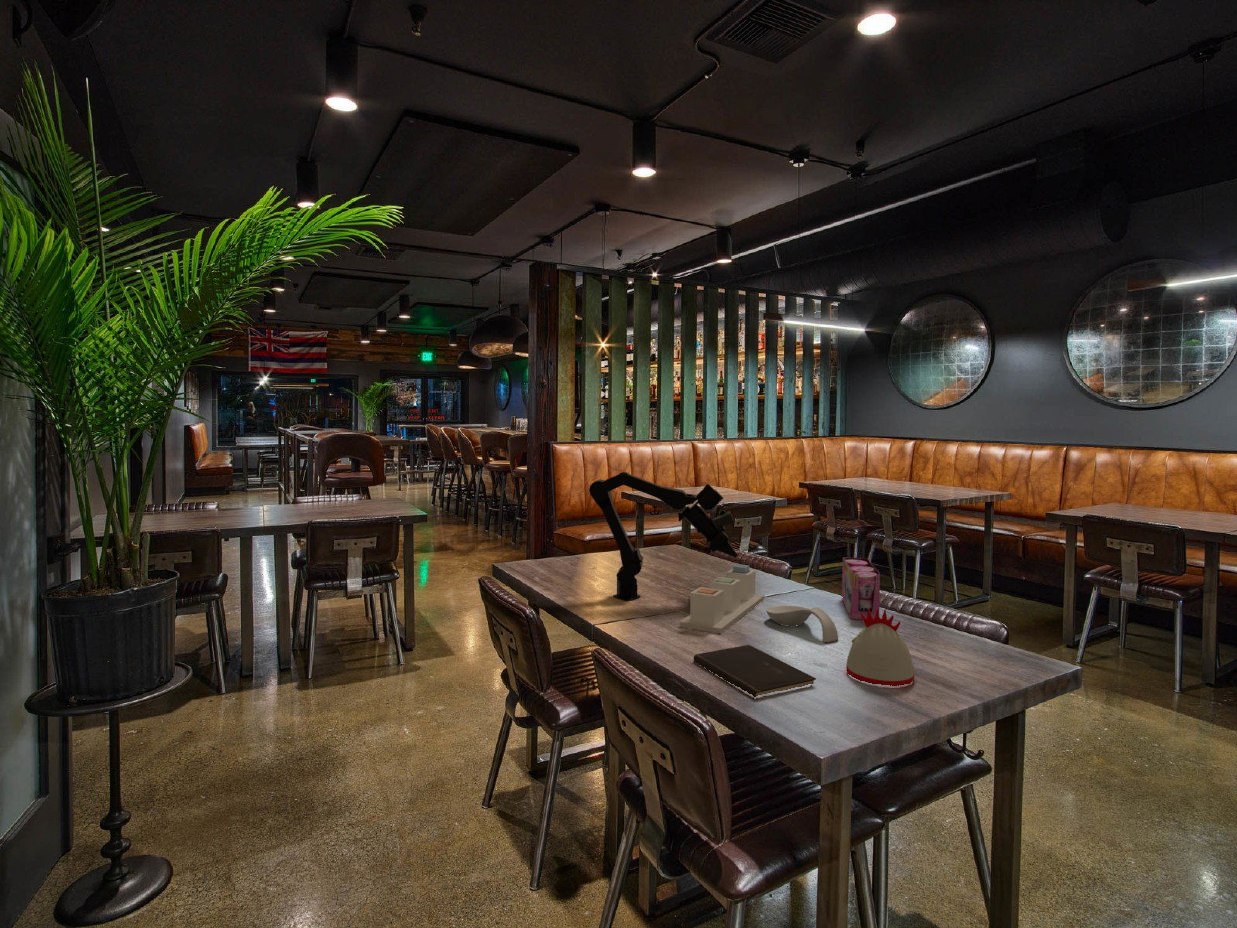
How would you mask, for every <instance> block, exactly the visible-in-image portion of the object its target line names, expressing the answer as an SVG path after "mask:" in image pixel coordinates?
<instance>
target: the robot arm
mask: <svg viewBox="0 0 1237 928" xmlns="http://www.w3.org/2000/svg"><path fill="white" fill-rule="evenodd" d="M622 486H625V487H628V488H631V489H633V490H636V491H638V492H641V493H644V494H646V495H648V496H652V497H654V498H657V499H658V500H660V501H662V503H664V504H665V505H666V506H667V505H668V506H669V507H671V508H672V509H674V510H676V511H677V510H682V509H683V510H682V511H678V512H677V515H678V522H681V521H682V520H684V519H685V520H686V521H687V522H688V524H689V523H690V525H691V526H692V527H693V528H694V529H695V530H696V532H697V533H698V534H700V535H701V536H702V537H703V538H704V539H705V540H706V542H707V543H708V548H709V550H711V552H713V553H714V552H716V551H718V552H720V553H723V554H725V555H728V556H730V557H732V558H737V557H738V556H739V555H738V552H737V551H736V550H735V549H734V547H733V546H732V544H731V543H730V541H729V535H728V532H725V531H726V528H725V527H726V526H728V525H732V524H734V523H736V521H735V519H734V516H733V515H732V512H731V511H729V510H728V511H726V510H724V509H722V510H719V513H718V515H717V516H716V517H714V518H713V517H712V516H711V515H710V516H709V515H708V514H707V513H706V512H707V511H709V510H710V511H712V510H713V509H715V508H716V506H718V505H719V504H720V503H721V502H722V500H724V499H725V498H724V496H722V494H721V493H720V492H719V491H718V490H717V489H714V487H712V486H711V484H709V483H706V484H705V485H704V487H703V488H702V489H701V490H700V491H699V492H698V493H697V494H693V493H692V494H691V493H686V491H685V490H683V489H680V488H674V487H668V486H661V485H660V484H657V483H654V482H651V481H648V480H646V479H645V478H641V477H639V476H636V475H633V474H631V473H629V472H627V471H621V472H620V473H618V474H616V475H614V476H612V477H610V478H607V479H605V480H604V479H597V480H595V481H593V482H592V483H591V484H590V486H589V489H588V493H589V495H590V497H591V498H592V500H593V501H594V502H595V504H596V505H597V506H598V508H599V509H600V510H601V511H602V513H603V515H604V518H605V520H606V522H607V525H608V527H609V530H610V532H611V534H612V536H613V538H614V540H615V544H616V545H617V548H618V549H619V554H620V555H619V556H620V561H621V565H622V566H620V568H619V569H618V571H617V573H616V594H613V595H612V597H613V598H615V599H620V600H623V601H629V600H635V599H639V598H641V595H639V594H638V579H637V578H636V576H637V575H639V574H640V572H641V570H642V568H643V565H644V562H643V560H644V556H643V555H642V554H641V551H640V548H639V547H640V546H637V547H636V548H635V547H634V546H633V544H632V543H631V541H630V539H629V537H628V535H627V532H626V529H625V528H624V526H623V523H622V520H621V519H620V516H619V514H618V512H617V510H616V508H615V505H614V500H613V495H612V494H613V493H612V491H613V490H615V489H618V488H620V487H622ZM689 505H692V506H689ZM705 511H706V512H705Z"/></svg>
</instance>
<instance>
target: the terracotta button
mask: <svg viewBox="0 0 1237 928" xmlns="http://www.w3.org/2000/svg"><path fill="white" fill-rule="evenodd" d="M706 588H707V587H704V588H703V589H701V590H699V591H698V593H704V594H711V595H713V594H715V593H716V592H717V590H713V589H706Z"/></svg>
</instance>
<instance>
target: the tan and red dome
mask: <svg viewBox="0 0 1237 928" xmlns="http://www.w3.org/2000/svg"><path fill="white" fill-rule="evenodd" d="M861 617H862V620H861V621H863V624H864V625H865V627H864V628H863V629H862V630H861V631H859V633H858V634H857V635H856V636H855V637H854V638H853V639H852V640H851V643H852V644H851V646H850V649H849V652H848V655H847V659H846V670H845V671H847V673H848V674H849V675H851V676H852V677H854V678H856V679H858V680H860V681H865V682H868V683H872V684H881V685H890V686H891V685H892V686H897V685H898V686H899V685H904V684H910V683H911V682H912V681H913V680H914V681H915V669H914V664H913V659H912V657H911V654H910V653H911V652H910V650H909V647H908V645H907V643H906V642H905V640H904V638H903V637H902V635H901V634H900V633H899V632H898V629H899V627H900V625H901V620H899V621H897V623H896V624H895V625H893V620H894V614H891V616H890V617H889V618H887V611H886V608H884V610H883V613H882V617H881V618H880V609H879V610H878V609H877V611H876V615H875V617H874V618H873V617H872V616H871V613H870V610H869V608H868V615H867V618H865V617H864V616H863V614H862V613H861ZM847 673H846V674H847ZM848 674H847V675H848Z"/></svg>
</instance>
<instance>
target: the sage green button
mask: <svg viewBox="0 0 1237 928" xmlns="http://www.w3.org/2000/svg"><path fill="white" fill-rule="evenodd" d="M716 582H722V583H729V584H731V583H732V582H734V579H726V577H723V578H720V579H718V580H717V581H716Z"/></svg>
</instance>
